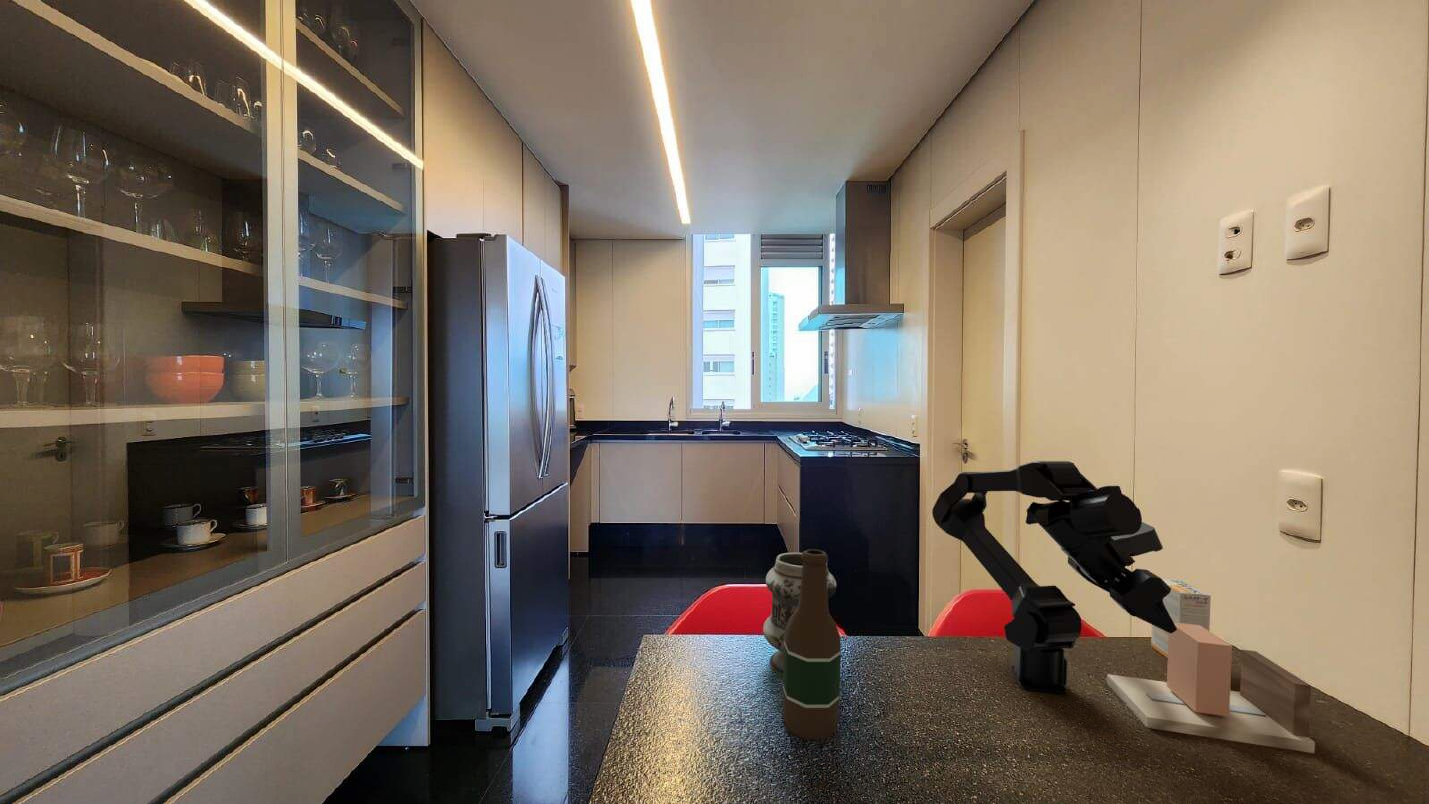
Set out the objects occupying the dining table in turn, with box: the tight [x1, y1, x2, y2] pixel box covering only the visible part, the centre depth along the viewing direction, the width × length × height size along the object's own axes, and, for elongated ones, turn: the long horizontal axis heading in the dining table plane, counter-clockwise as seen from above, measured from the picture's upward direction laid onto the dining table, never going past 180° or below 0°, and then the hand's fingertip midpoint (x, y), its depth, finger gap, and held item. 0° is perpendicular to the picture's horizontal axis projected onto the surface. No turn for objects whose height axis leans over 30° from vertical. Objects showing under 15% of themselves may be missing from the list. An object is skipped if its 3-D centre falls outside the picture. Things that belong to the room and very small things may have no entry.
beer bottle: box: [781, 548, 842, 741], centre depth 73 cm, size 8×8×24 cm
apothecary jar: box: [762, 552, 837, 677], centre depth 90 cm, size 12×12×18 cm
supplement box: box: [1150, 578, 1211, 659], centre depth 96 cm, size 8×5×13 cm, turn 168°
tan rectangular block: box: [1166, 623, 1233, 717], centre depth 79 cm, size 4×7×10 cm, turn 166°
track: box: [1106, 649, 1316, 754], centre depth 79 cm, size 19×12×8 cm, turn 76°
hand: (1154, 617), depth 80 cm, fingers open, 9 cm apart
